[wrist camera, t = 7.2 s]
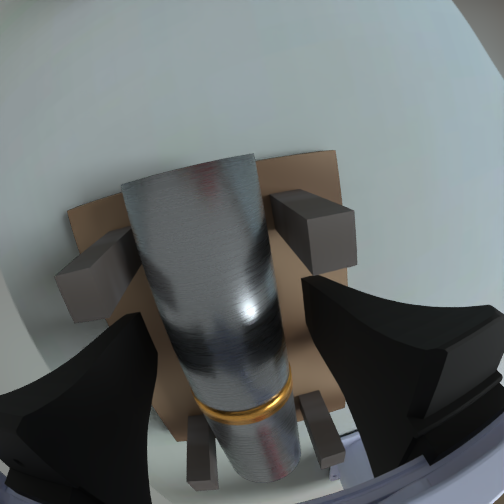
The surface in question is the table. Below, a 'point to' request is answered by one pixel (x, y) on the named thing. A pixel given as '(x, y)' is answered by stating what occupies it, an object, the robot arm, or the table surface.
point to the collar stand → (288, 285)
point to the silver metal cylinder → (221, 305)
